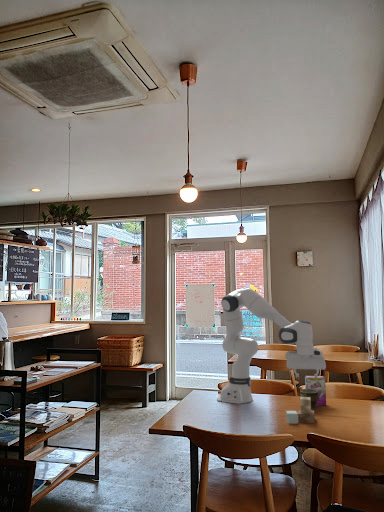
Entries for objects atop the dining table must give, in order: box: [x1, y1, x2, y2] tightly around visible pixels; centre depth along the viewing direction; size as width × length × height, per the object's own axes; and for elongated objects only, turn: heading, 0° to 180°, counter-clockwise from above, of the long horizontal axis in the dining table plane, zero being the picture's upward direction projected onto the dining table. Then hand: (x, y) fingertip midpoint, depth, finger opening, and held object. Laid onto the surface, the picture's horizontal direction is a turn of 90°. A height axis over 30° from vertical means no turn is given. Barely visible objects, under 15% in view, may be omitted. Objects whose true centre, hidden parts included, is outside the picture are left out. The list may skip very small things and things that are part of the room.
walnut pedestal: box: [297, 409, 316, 424], centre depth 200 cm, size 8×8×4 cm
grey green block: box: [285, 410, 299, 425], centre depth 197 cm, size 5×5×5 cm
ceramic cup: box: [299, 388, 318, 411], centre depth 220 cm, size 13×10×10 cm
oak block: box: [299, 396, 311, 414], centre depth 200 cm, size 5×5×7 cm
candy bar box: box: [304, 375, 327, 407], centre depth 229 cm, size 11×5×16 cm, turn 84°
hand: (306, 377), depth 203 cm, fingers open, 8 cm apart
